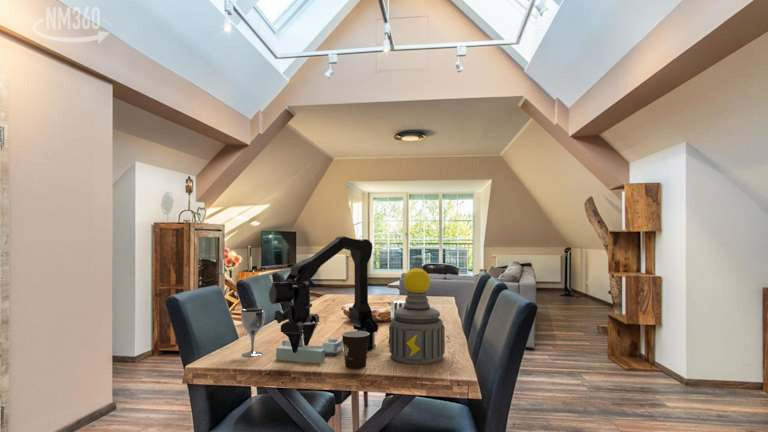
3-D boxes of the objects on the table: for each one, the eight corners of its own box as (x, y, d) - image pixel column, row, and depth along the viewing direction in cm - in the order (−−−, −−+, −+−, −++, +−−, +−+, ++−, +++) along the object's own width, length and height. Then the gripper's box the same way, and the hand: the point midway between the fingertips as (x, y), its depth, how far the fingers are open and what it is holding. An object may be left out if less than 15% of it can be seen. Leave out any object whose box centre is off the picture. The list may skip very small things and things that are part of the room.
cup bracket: (342, 350, 151) (342, 339, 151) (336, 355, 144) (336, 343, 144) (290, 347, 155) (290, 336, 155) (282, 352, 148) (282, 340, 148)
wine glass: (269, 352, 147) (269, 309, 148) (253, 358, 140) (254, 312, 141) (251, 349, 151) (252, 307, 152) (235, 355, 144) (236, 311, 144)
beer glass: (408, 341, 164) (408, 303, 165) (390, 341, 164) (390, 302, 165) (407, 337, 171) (407, 300, 172) (390, 337, 171) (390, 300, 172)
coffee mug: (370, 369, 129) (371, 336, 129) (342, 370, 127) (343, 337, 128) (366, 358, 140) (366, 328, 141) (340, 360, 139) (340, 329, 139)
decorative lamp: (443, 367, 132) (443, 270, 133) (384, 363, 135) (384, 269, 137) (445, 351, 150) (445, 266, 152) (393, 348, 154) (394, 266, 155)
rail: (324, 361, 138) (324, 349, 138) (321, 364, 135) (321, 351, 135) (280, 357, 142) (280, 345, 142) (276, 360, 139) (276, 348, 139)
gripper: (290, 296, 151) (289, 341, 150) (265, 304, 132) (264, 355, 131) (320, 297, 148) (319, 342, 147) (298, 306, 130) (297, 357, 129)
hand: (300, 349), depth 139 cm, fingers open, 9 cm apart
